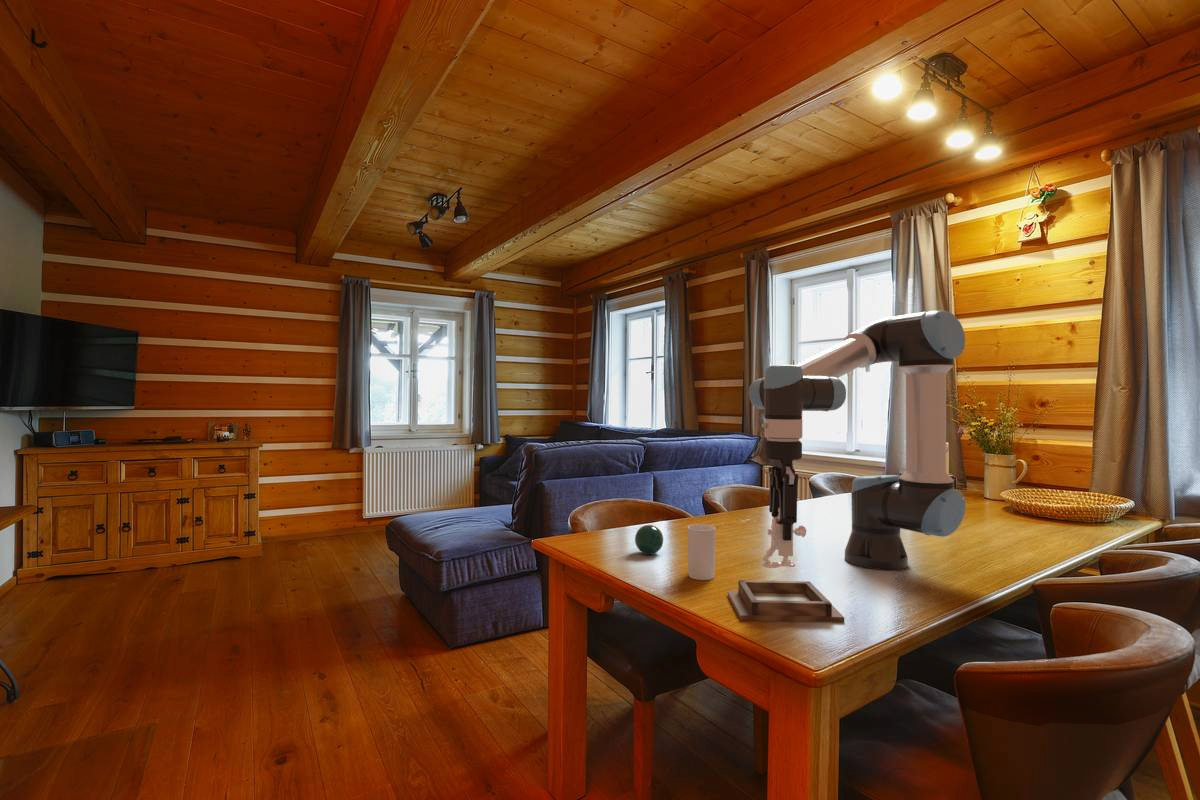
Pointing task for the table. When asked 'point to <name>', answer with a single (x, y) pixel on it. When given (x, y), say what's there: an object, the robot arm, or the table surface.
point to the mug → (701, 551)
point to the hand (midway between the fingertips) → (782, 552)
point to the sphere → (649, 539)
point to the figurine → (774, 542)
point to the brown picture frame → (782, 602)
